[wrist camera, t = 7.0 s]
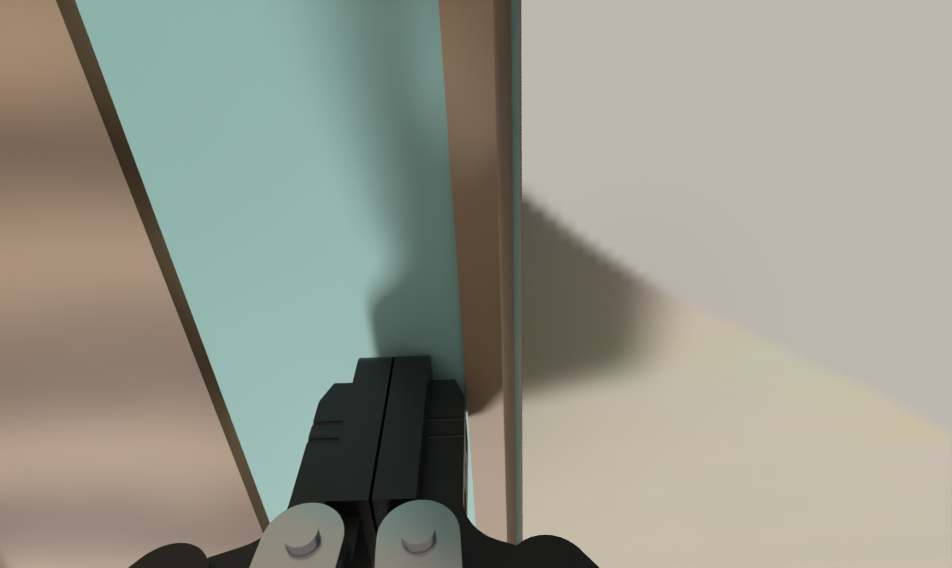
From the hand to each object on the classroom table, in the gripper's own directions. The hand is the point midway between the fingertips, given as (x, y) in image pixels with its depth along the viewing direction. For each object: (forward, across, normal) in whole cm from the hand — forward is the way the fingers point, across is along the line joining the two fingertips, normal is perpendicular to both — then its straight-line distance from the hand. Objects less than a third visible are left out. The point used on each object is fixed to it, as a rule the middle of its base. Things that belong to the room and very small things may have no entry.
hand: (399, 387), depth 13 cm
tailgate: (+3, +5, +2) cm, 6 cm away
